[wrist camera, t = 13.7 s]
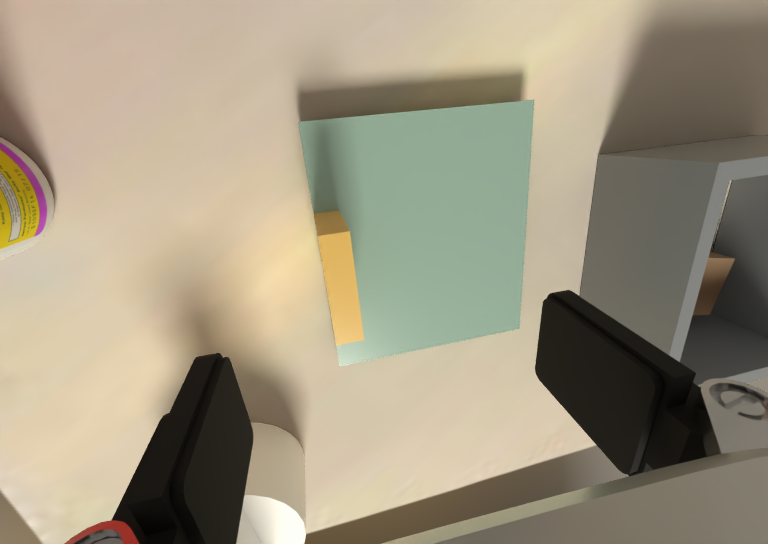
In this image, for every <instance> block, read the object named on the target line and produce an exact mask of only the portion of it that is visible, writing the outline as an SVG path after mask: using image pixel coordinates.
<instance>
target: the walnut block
mask: <svg viewBox="0 0 768 544" xmlns="http://www.w3.org/2000/svg"><path fill="white" fill-rule="evenodd" d="M734 260H735V258H732V257H728V256H725V255H721V254H718V253H714V252H711V251H710V254H709V257H708V261H707V264H706V268H705V272H704V275H703V279H702V283H701V286H700V290H699V294H698V297H697V301H696V304H695V308H694V312H693V315H710V313H711V311H712V308H713V306H714V304H715V302H716V300H717V298H718V295H719V293H720V291H721V289H722V287H723V284H724V282H725V280H726V278H727V276H728V273H729V271H730V269H731V267H732V265H733V263H734Z"/></svg>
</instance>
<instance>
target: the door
mask: <svg viewBox="0 0 768 544" xmlns="http://www.w3.org/2000/svg"><path fill="white" fill-rule="evenodd" d="M533 111H534V100H527V101H516V102H505V103H495V104H484V105H473V106H462V107H452V108H441V109H430V110H419V111H409V112H398V113H387V114H376V115H366V116H355V117H344V118H334V119H323V120H312V121H301V122H298V124H299V130H300V135H301V141H302V147H303V153H304V159H305V165H306V171H307V177H308V183H309V189H310V194H311V200H312V206H313V212H314V218H315V224H316V230H317V236H318V242H319V248H320V253H321V259H322V265H323V271H324V277H325V283H326V289H327V295H328V301H329V306H330V312H331V318H332V324H333V330H334V336H335V342H336V348H337V354H338V360H339V365H340V366H345V365H349V364H354V363H359V362H364V361H368V360H373V359H378V358H383V357H387V356H392V355H397V354H401V353H406V352H411V351H416V350H420V349H425V348H430V347H435V346H439V345H444V344H449V343H454V342H458V341H463V340H468V339H473V338H477V337H482V336H487V335H491V334H496V333H501V332H506V331H510V330H515V329H519V328H520V312H521V297H522V281H523V266H524V250H525V235H526V219H527V204H528V188H529V173H530V157H531V142H532V126H533Z"/></svg>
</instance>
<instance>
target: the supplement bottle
mask: <svg viewBox="0 0 768 544" xmlns="http://www.w3.org/2000/svg"><path fill="white" fill-rule="evenodd" d="M53 217H54V198H53V194H52V191H51V188H50V186H49V183H48V181H47V180H46V178H45V176H44V175H43V173H42V172H41V170H40V169H39V168H38V166H37V165H36V164H35V163H34V162H33V161H32V160H31V159H30V158H29V157H28V156H27V155H26V154H25V153H24V152H22V151H21V150H20V149H18V148H17V147H15V146H14V145H13V144H11V143H9V142H8V141H6V140H4V139H3V138H1V137H0V261H1V260H3V259H6V258H8V257H10V256H13V255H15V254H17V253H19V252H21V251H24V250H26V249H28V248H30V247H32V246H33V245H35V244H36V243H37V242H39V241H40V240H41V239H42V238H43V237H44V236H45V234H46V233H47V232H48V230H49V228H50V226H51V224H52V221H53Z"/></svg>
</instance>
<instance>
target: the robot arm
mask: <svg viewBox="0 0 768 544" xmlns="http://www.w3.org/2000/svg"><path fill="white" fill-rule="evenodd" d="M535 371H536V375H537V377H538V379H539V380H540V381H541V382H542V384H543V385H544V386H545V387H546V388H547V389H548V390H549V391H550V393H551V394H552V395H553V396H554V397H555V398H556V399H557V401H558V402H559V403H560V404H561V405H562V406H563V407H564V408H565V410H566V411H567V412H568V413H569V414H570V415H571V416H572V418H573V419H574V420H575V421H576V422H577V423H578V424H579V425H580V427H581V428H582V429H583V430H584V431H585V432H586V433H587V434H588V436H589V437H590V438H591V439H592V440H593V441H594V442H595V444H596V445H597V446H598V447H599V448H600V449H601V450H602V451H603V452H604V454H605V455H606V456H607V457H608V458H609V459H610V461H611V462H612V463H613V464H614V465H615V466H616V467H617V468H618V469H619V470H620V471H621V472H622V473H624V474H628V475H629V477H626V478H622V479H618V480H614V481H610V482H607V483H603V484H599V485H595V486H591V487H588V488H584V489H580V490H576V491H573V492H569V493H565V494H561V495H557V496H554V497H550V498H546V499H543V500H539V501H535V502H532V503H528V504H524V505H521V506H517V507H513V508H509V509H506V510H502V511H498V512H495V513H491V514H487V515H484V516H480V517H476V518H473V519H469V520H465V521H462V522H458V523H454V524H451V525H447V526H443V527H440V528H436V529H432V530H429V531H425V532H422V533H418V534H415V535H411V536H407V537H404V538H400V539H396V540H393V541H389V542H386V543H382V544H768V393H767V392H765V391H763V390H761V389H759V388H756V387H754V386H752V385H749V384H747V383H743V382H739V381H736V380H730V379H723V378H717V379H709V380H706V381H704V382H703V384H702V385H701V386H700V387H699V386H697V385H696V384H695V383H693V381H694V378H695V375H696V373H695V372H694V371H692V370H691V369H689V368H688V367H686V366H685V365H683V364H682V363H680V362H679V361H677V360H676V359H674V358H673V357H671V356H669V355H668V354H666V353H665V352H663V351H662V350H660V349H659V348H657V347H656V346H654V345H653V344H651V343H650V342H648V341H647V340H645V339H644V338H642V337H641V336H639V335H638V334H636V333H634V332H633V331H631V330H630V329H628V328H627V327H625V326H624V325H622V324H621V323H619V322H618V321H616V320H615V319H613V318H612V317H610V316H609V315H607V314H606V313H604V312H603V311H601V310H599V309H598V308H596V307H595V306H593V305H592V304H590V303H589V302H587V301H586V300H584V299H583V298H581V297H580V296H578V295H577V294H575V293H574V292H572V291H570V290H566V291H560V292H555V293H551V294H549V295H548V297H547V299H545V300H544V301H543V306H542V315H541V323H540V332H539V340H538V348H537V357H536V365H535ZM252 447H253V429H252V425H251V422H250V419H249V416H248V413H247V410H246V407H245V404H244V401H243V398H242V395H241V392H240V389H239V386H238V383H237V380H236V377H235V374H234V370H233V367H232V364H231V361H230V359H229V358H228V357H224V358H223V357H222V355H221V354H220V353H216V354H210V355H205V356H199V357H196V358H195V360H194V361H193V364H192V366H191V368H190V370H189V372H188V374H187V376H186V379H185V381H184V383H183V385H182V387H181V389H180V391H179V394H178V396H177V398H176V400H175V402H174V404H173V406H172V409H171V411H170V413H168V414H166V415H164V416H163V417H162V419H161V420H160V422H159V424H158V426H157V428H156V430H155V432H154V434H153V436H152V438H151V440H150V442H149V444H148V447H147V449H146V451H145V453H144V455H143V457H142V459H141V461H140V463H139V465H138V467H137V469H136V471H135V473H134V475H133V477H132V479H131V481H130V484H129V486H128V488H127V490H126V492H125V494H124V496H123V498H122V500H121V502H120V504H119V506H118V508H117V510H116V512H115V514H114V516H113V519H112V521H106V522H101V523H99V524H96V525H94V526H91V527H89V528H87V529H85V530H83V531H82V532H80V533H79V534H77V535H75V536H74V537H72V538H71V539H70V540H68V541H67V542H66V543H65V544H236V542H237V536H238V530H239V524H240V518H241V512H242V506H243V500H244V494H245V488H246V482H247V476H248V470H249V464H250V458H251V453H252Z"/></svg>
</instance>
